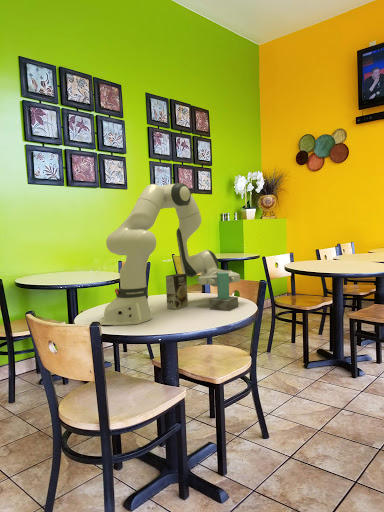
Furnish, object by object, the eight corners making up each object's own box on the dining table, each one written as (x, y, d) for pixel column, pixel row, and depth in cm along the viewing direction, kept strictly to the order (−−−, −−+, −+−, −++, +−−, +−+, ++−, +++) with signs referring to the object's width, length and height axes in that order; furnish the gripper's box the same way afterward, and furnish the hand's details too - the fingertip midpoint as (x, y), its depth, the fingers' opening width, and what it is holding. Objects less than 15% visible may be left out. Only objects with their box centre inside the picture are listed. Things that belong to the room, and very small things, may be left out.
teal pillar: (220, 299, 184) (219, 273, 183) (217, 297, 188) (216, 272, 187) (229, 298, 185) (228, 273, 184) (226, 297, 189) (226, 272, 188)
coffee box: (177, 309, 189) (175, 276, 188) (166, 308, 193) (164, 275, 192) (188, 306, 196) (187, 273, 195) (178, 305, 200) (176, 273, 199)
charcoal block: (209, 310, 185) (209, 299, 185) (219, 306, 194) (219, 296, 193) (228, 311, 180) (228, 301, 180) (238, 307, 188) (237, 297, 188)
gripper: (194, 272, 196) (201, 275, 183) (234, 269, 200) (243, 272, 187) (195, 285, 197) (202, 289, 183) (234, 282, 201) (244, 285, 187)
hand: (223, 281), depth 185 cm, fingers open, 8 cm apart
